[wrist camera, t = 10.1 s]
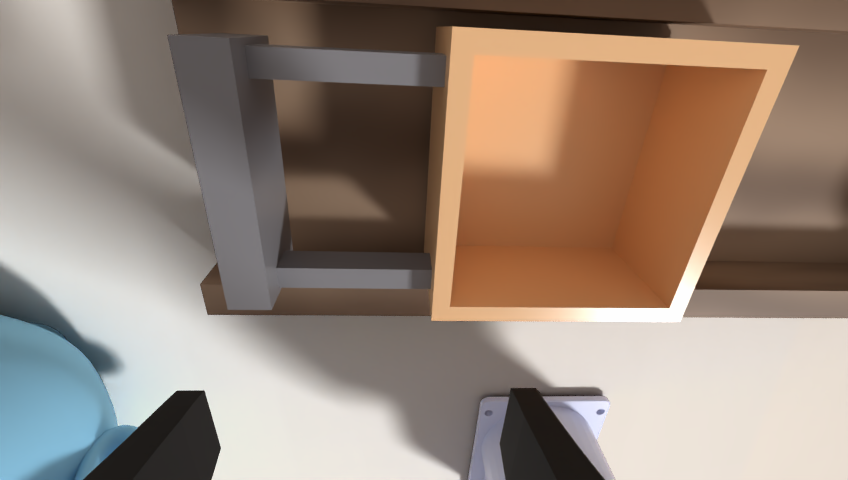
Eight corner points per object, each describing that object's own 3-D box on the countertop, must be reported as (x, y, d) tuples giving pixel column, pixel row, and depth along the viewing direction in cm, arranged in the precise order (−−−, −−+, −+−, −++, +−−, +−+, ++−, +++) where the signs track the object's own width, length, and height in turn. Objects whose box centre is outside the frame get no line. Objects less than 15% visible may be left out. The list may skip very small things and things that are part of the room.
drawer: (614, 253, 19) (681, 323, 14) (273, 247, 18) (230, 321, 13) (680, 39, 15) (802, 46, 10) (239, 15, 14) (161, 10, 9)
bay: (879, 279, 22) (1059, 375, 16) (236, 271, 20) (163, 379, 14) (1067, 4, 16) (1470, -10, 10) (171, -56, 14) (-9, -120, 8)
